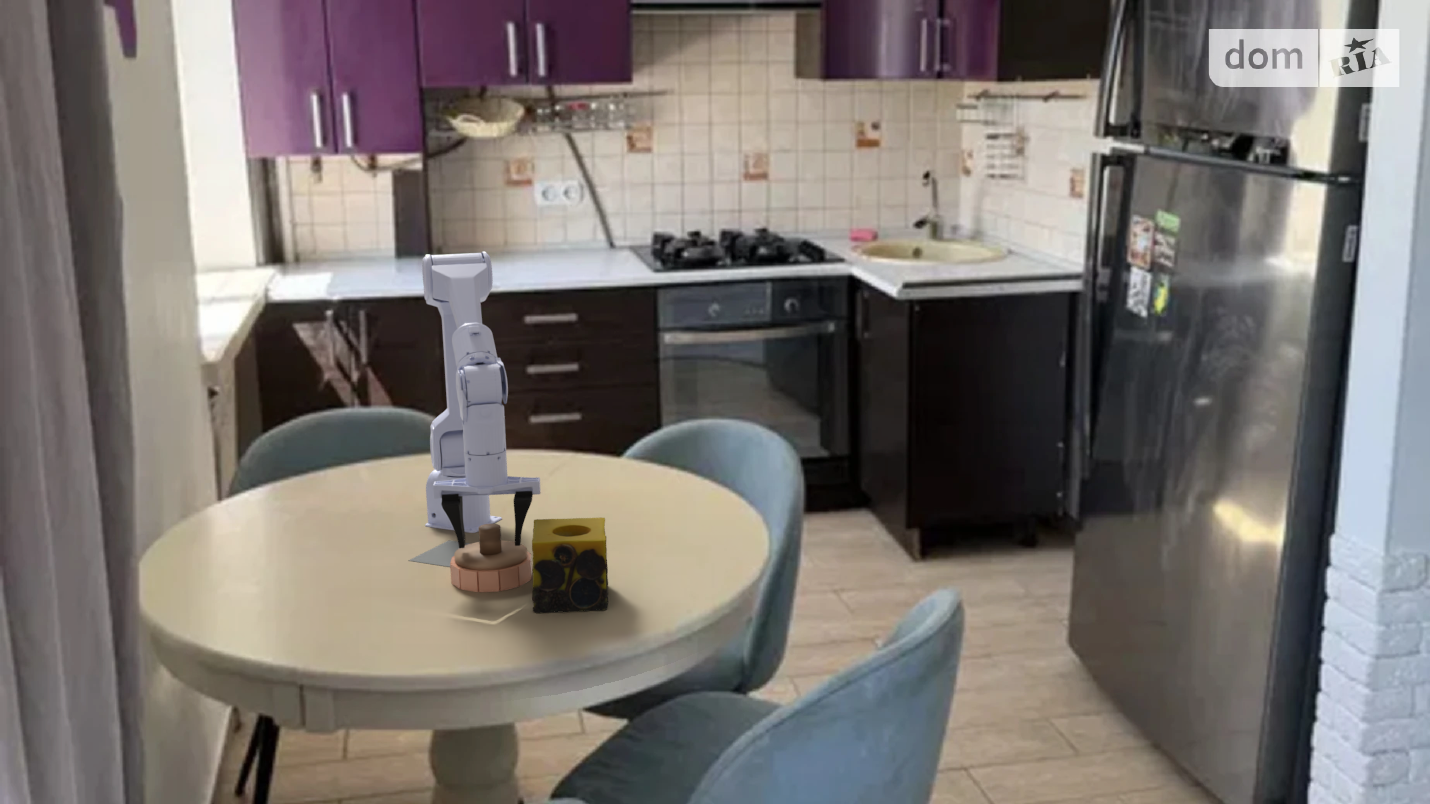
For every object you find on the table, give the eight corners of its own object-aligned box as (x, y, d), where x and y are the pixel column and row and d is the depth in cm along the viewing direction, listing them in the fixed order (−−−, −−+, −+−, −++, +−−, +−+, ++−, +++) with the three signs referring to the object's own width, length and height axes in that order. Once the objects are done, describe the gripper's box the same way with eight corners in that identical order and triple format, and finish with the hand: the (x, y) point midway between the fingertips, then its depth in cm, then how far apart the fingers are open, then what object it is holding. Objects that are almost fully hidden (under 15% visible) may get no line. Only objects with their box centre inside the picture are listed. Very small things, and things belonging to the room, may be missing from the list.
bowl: (436, 587, 190) (434, 565, 189) (481, 563, 200) (480, 542, 199) (503, 598, 185) (502, 576, 185) (546, 573, 195) (545, 551, 194)
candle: (535, 587, 189) (531, 518, 187) (608, 584, 190) (606, 515, 188) (531, 615, 180) (528, 542, 177) (609, 611, 180) (606, 539, 178)
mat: (408, 562, 200) (408, 560, 200) (449, 542, 209) (448, 540, 209) (465, 571, 196) (465, 569, 196) (504, 550, 205) (504, 548, 205)
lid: (440, 565, 189) (438, 533, 188) (478, 543, 198) (477, 513, 197) (504, 573, 185) (502, 541, 184) (540, 551, 194) (538, 520, 193)
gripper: (428, 459, 184) (434, 556, 187) (537, 455, 185) (541, 551, 188) (434, 446, 191) (439, 540, 194) (539, 443, 192) (543, 535, 195)
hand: (490, 544), depth 191 cm, fingers open, 7 cm apart
